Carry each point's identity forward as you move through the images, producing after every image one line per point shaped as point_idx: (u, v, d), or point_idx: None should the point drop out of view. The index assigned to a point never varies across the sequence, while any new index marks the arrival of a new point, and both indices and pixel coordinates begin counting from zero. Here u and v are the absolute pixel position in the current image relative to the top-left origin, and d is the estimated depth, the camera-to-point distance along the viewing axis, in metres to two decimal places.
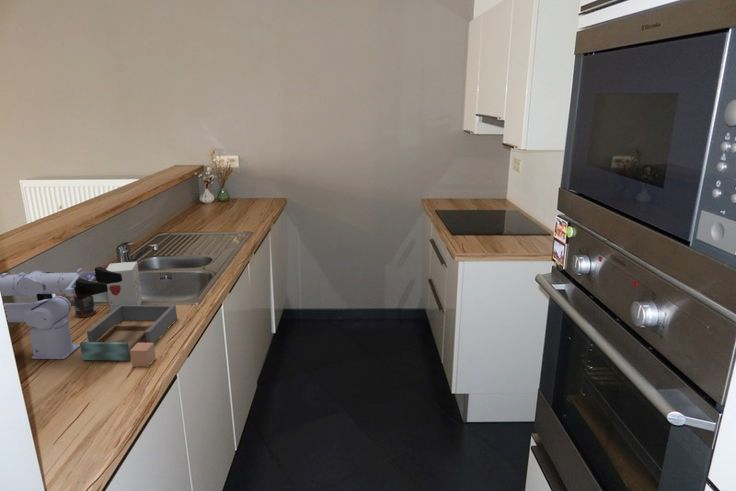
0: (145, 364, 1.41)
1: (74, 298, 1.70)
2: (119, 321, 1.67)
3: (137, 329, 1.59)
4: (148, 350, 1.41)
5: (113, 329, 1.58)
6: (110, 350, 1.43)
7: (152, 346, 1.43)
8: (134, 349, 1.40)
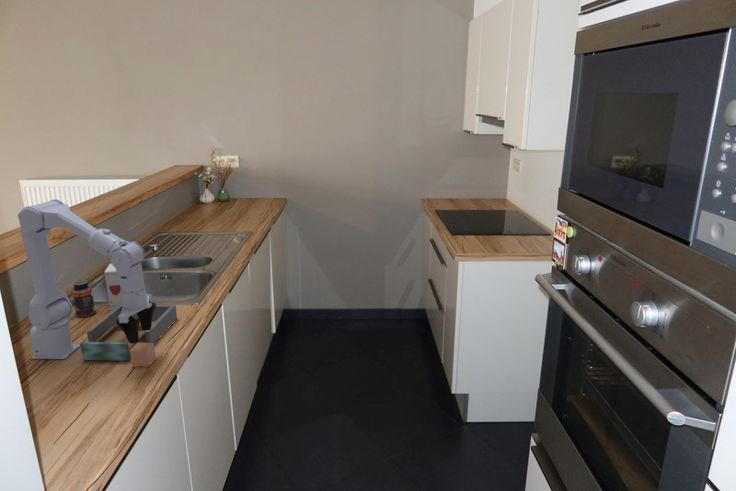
0: (145, 364, 1.41)
1: (74, 298, 1.70)
2: None
3: None
4: (148, 350, 1.41)
5: (113, 329, 1.58)
6: (110, 350, 1.43)
7: (152, 346, 1.43)
8: (134, 349, 1.40)
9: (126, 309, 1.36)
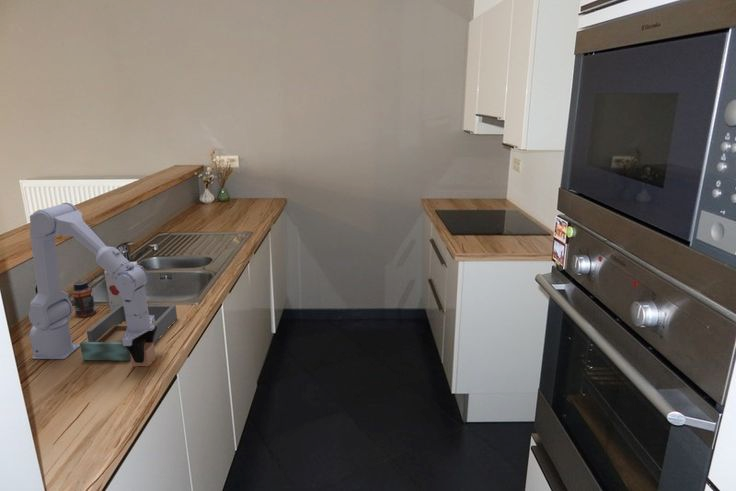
0: (145, 364, 1.41)
1: (74, 298, 1.70)
2: (119, 321, 1.67)
3: None
4: (148, 350, 1.41)
5: (113, 329, 1.58)
6: (110, 350, 1.43)
7: (152, 346, 1.43)
8: None
9: (130, 332, 1.38)
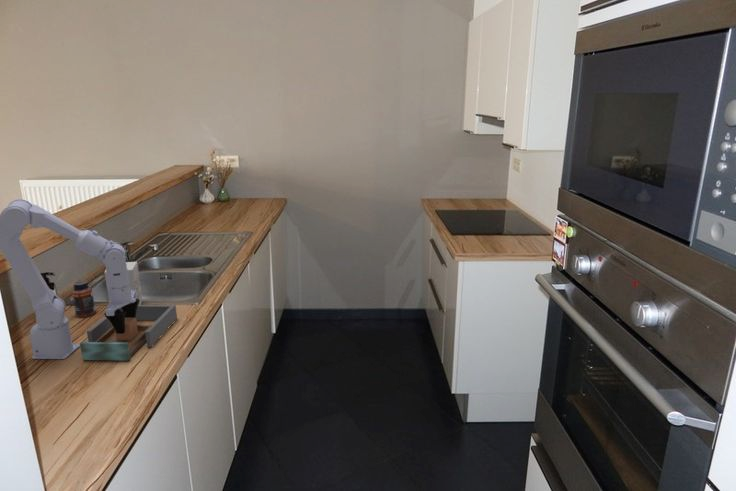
0: (128, 337, 1.53)
1: (74, 298, 1.70)
2: None
3: None
4: (130, 324, 1.53)
5: (113, 329, 1.58)
6: (110, 350, 1.43)
7: (134, 320, 1.56)
8: None
9: (112, 303, 1.50)
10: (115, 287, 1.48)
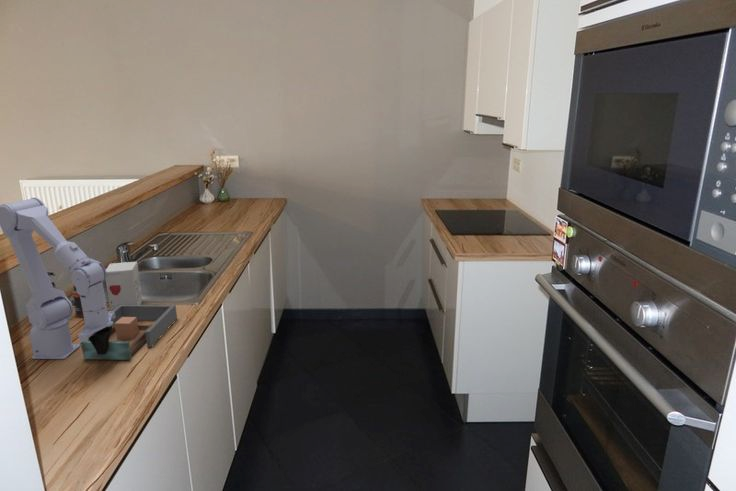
0: (128, 336, 1.54)
1: (74, 298, 1.70)
2: None
3: (138, 328, 1.60)
4: (131, 323, 1.54)
5: (114, 328, 1.58)
6: (111, 349, 1.44)
7: (135, 320, 1.56)
8: (118, 322, 1.53)
9: (87, 327, 1.37)
10: (83, 309, 1.36)
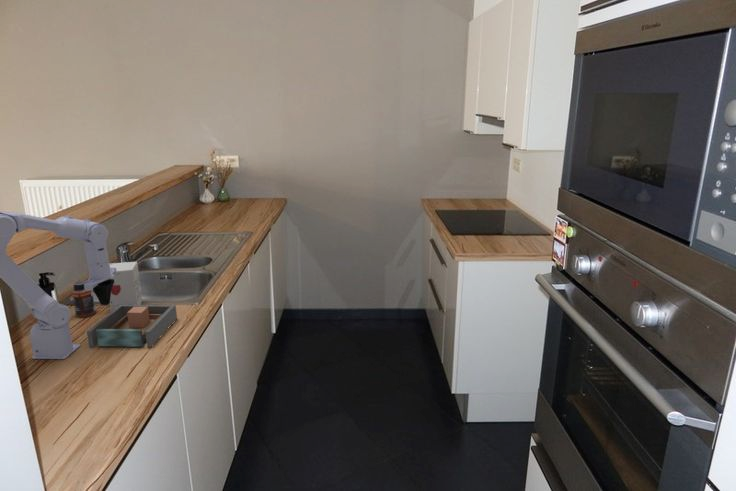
0: (140, 325, 1.61)
1: (74, 298, 1.70)
2: None
3: None
4: (143, 312, 1.61)
5: (126, 318, 1.66)
6: (124, 337, 1.51)
7: (146, 309, 1.63)
8: (131, 311, 1.61)
9: (91, 279, 1.53)
10: (100, 262, 1.52)
